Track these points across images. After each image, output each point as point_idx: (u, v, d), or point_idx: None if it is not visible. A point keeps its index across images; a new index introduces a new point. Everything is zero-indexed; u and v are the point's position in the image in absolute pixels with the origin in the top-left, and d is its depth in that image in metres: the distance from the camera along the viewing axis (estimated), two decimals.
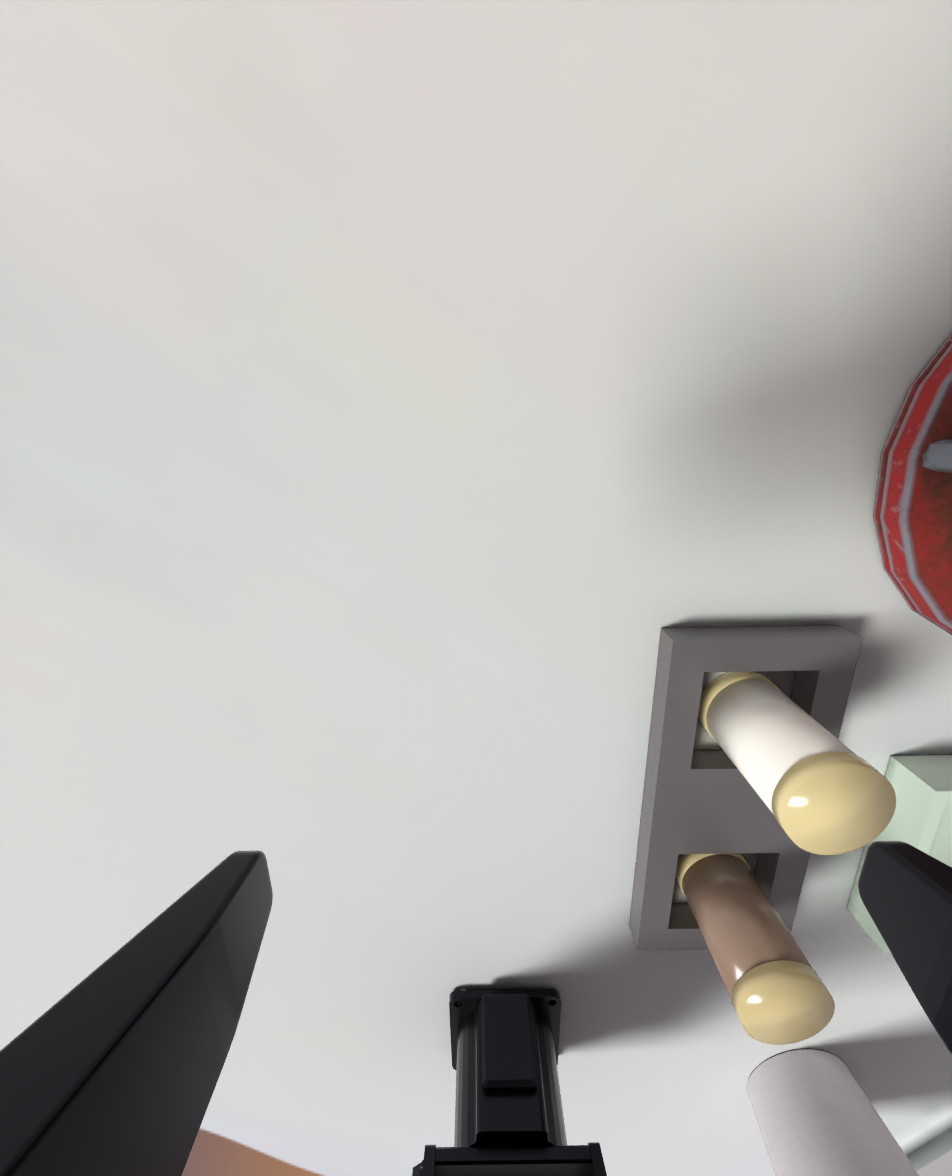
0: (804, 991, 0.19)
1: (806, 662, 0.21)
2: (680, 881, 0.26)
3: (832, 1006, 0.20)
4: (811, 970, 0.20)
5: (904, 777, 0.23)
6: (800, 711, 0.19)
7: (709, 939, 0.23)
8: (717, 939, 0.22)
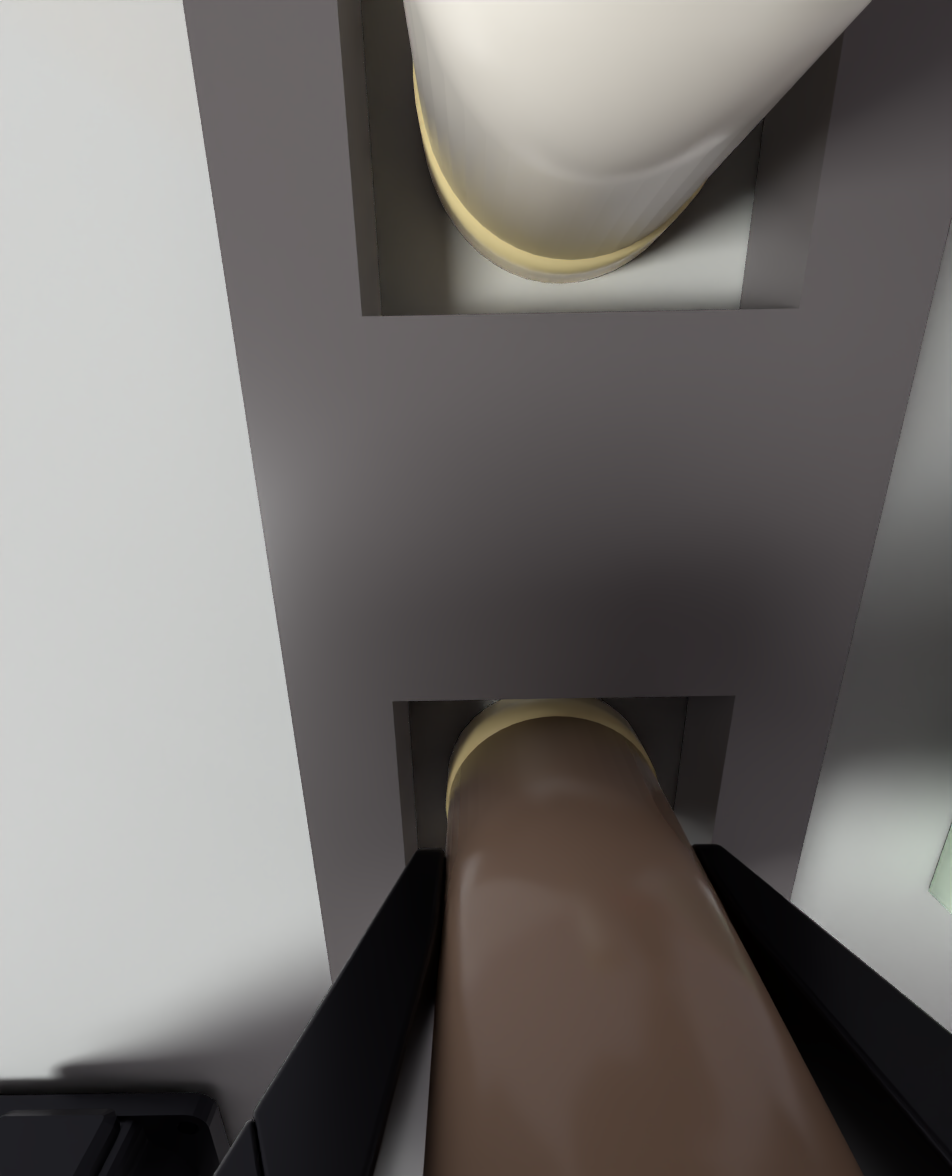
0: None
1: None
2: (446, 808, 0.09)
3: None
4: None
5: None
6: None
7: (435, 1008, 0.06)
8: (441, 1015, 0.05)
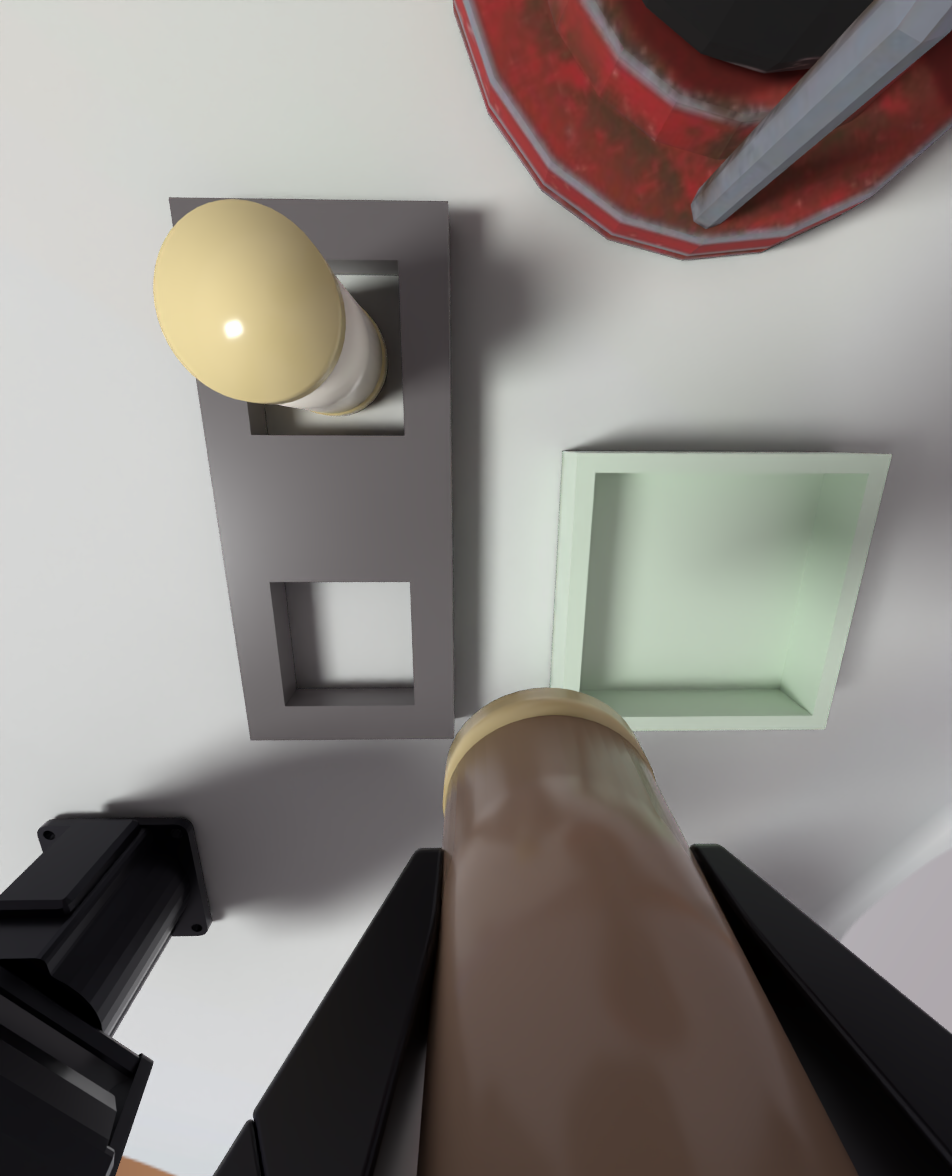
0: None
1: (375, 245, 0.14)
2: (443, 807, 0.09)
3: None
4: None
5: (567, 466, 0.17)
6: None
7: (430, 1006, 0.05)
8: (435, 1015, 0.05)
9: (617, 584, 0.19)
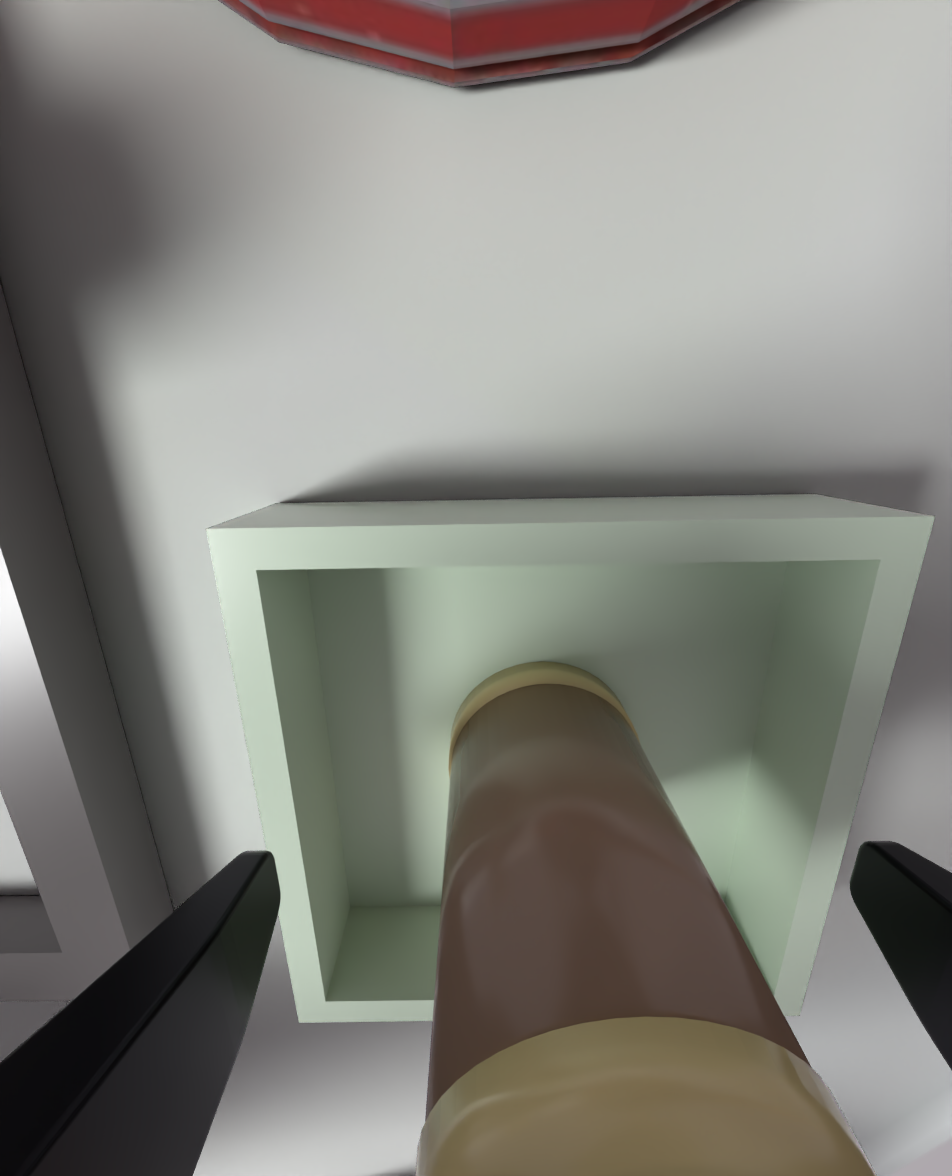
0: None
1: None
2: (449, 769, 0.09)
3: None
4: (793, 1071, 0.04)
5: None
6: None
7: None
8: (444, 919, 0.06)
9: (411, 742, 0.10)
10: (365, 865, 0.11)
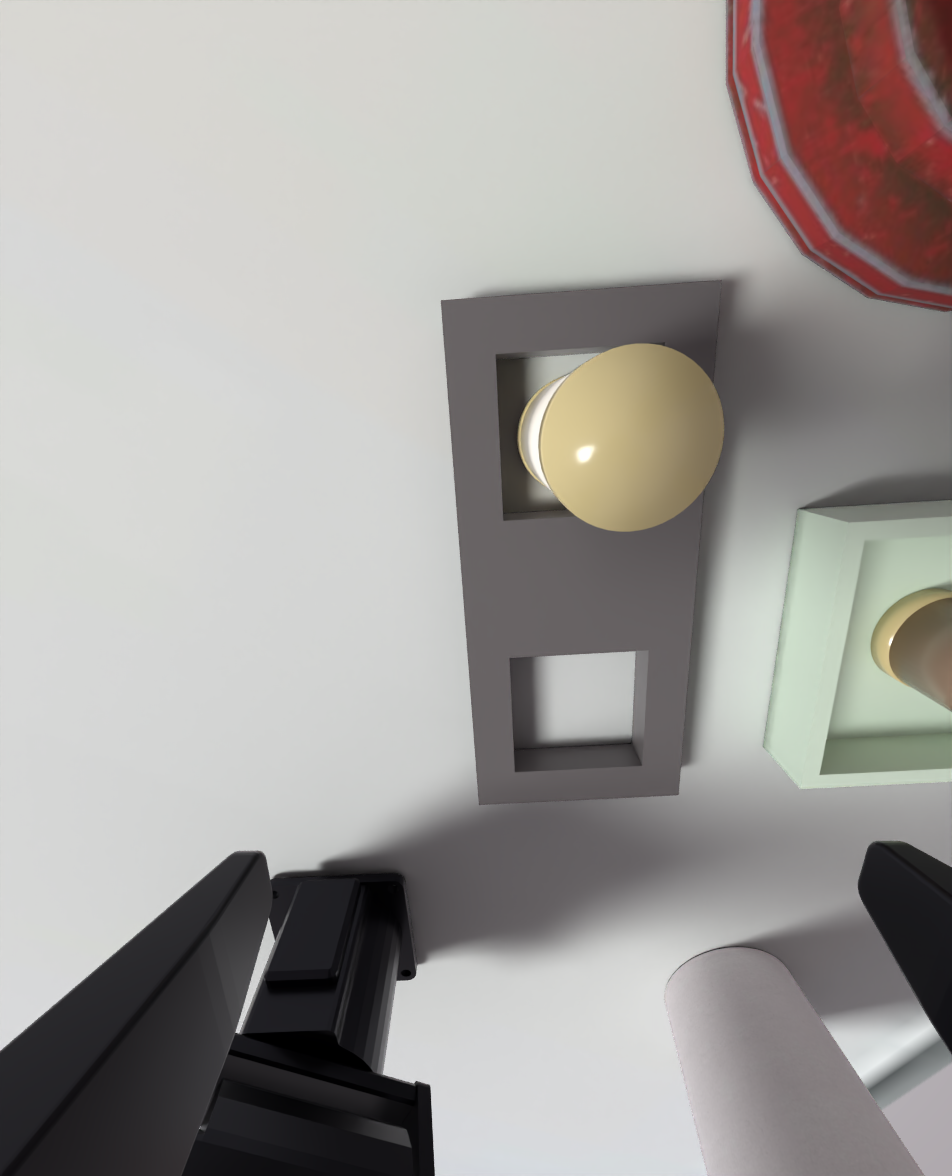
0: None
1: (643, 329, 0.14)
2: (887, 647, 0.18)
3: None
4: None
5: (813, 528, 0.17)
6: None
7: None
8: None
9: (848, 637, 0.18)
10: None
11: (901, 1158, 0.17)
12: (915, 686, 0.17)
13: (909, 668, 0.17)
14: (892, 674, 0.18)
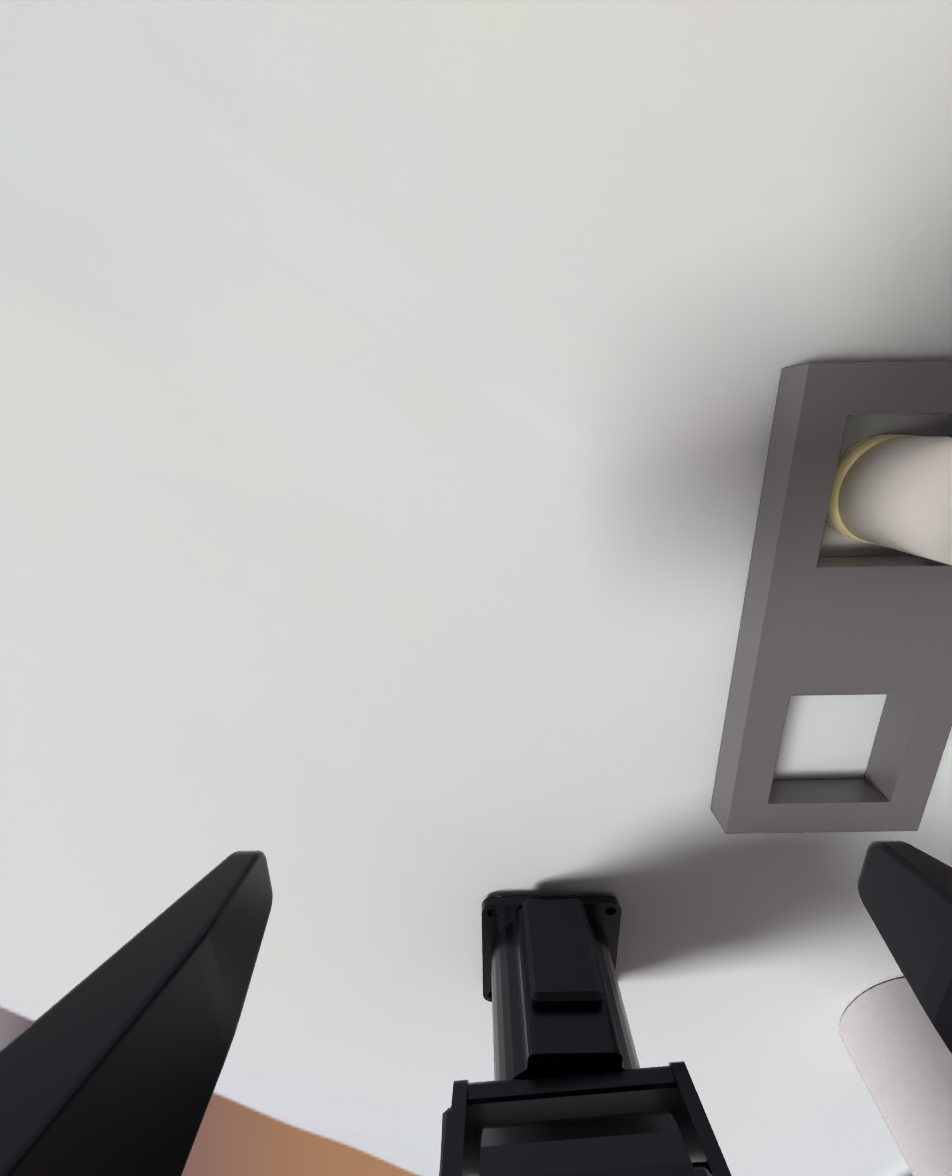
0: None
1: None
2: None
3: None
4: None
5: None
6: None
7: None
8: None
9: None
10: None
11: None
12: None
13: None
14: None
